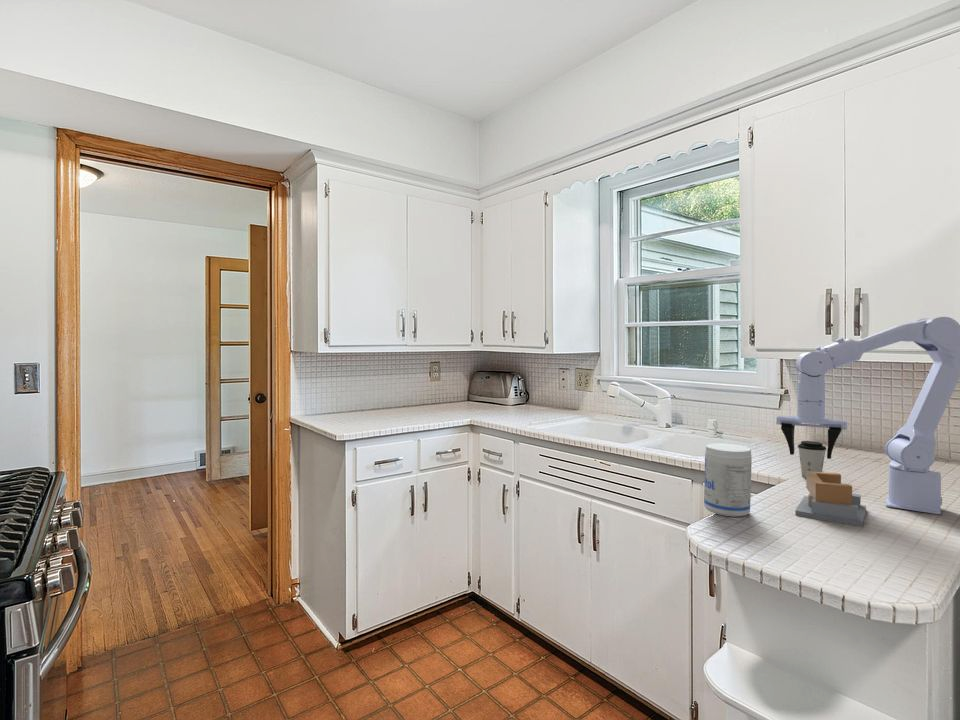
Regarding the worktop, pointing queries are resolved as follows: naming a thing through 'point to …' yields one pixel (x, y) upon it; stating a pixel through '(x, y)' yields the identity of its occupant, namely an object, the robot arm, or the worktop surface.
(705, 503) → the supplement tub
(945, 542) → the worktop surface
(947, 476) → the worktop surface
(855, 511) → the display stand
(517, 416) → the worktop surface
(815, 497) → the tan c-shaped bracket
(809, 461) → the coffee cup
